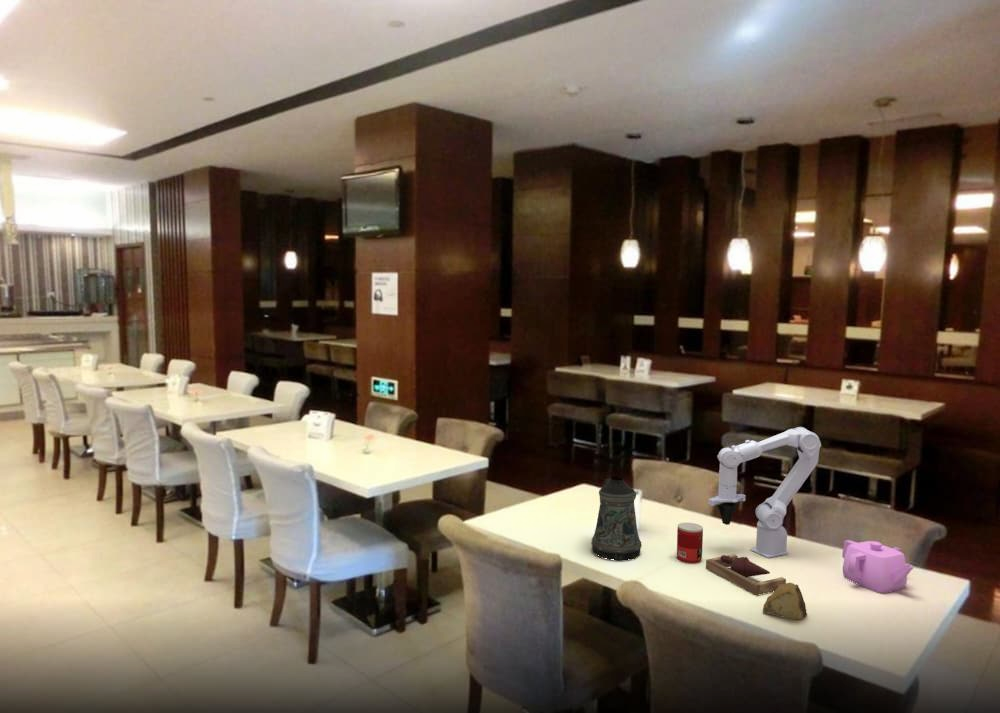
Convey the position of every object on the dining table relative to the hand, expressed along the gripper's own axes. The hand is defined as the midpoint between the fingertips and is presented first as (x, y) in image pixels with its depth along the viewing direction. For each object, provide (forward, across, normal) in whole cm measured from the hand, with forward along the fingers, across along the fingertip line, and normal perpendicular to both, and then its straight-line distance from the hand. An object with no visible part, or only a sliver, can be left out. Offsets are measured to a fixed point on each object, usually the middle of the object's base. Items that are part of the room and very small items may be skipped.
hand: (726, 523), depth 227 cm
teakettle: (+10, +24, -38) cm, 46 cm away
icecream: (+10, -11, -20) cm, 24 cm away
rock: (+10, -18, -42) cm, 46 cm away
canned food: (+10, -16, 0) cm, 19 cm away
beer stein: (+10, -35, +16) cm, 39 cm away
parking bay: (+9, -10, -20) cm, 24 cm away
